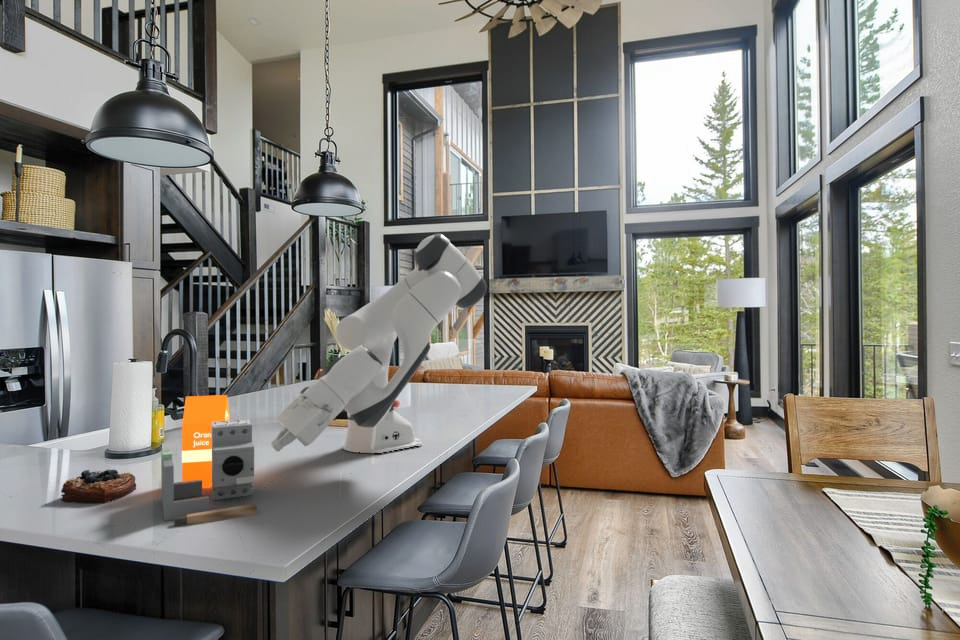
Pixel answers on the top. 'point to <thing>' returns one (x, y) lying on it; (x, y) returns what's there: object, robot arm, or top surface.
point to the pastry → (98, 487)
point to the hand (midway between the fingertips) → (273, 448)
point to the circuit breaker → (232, 459)
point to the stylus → (216, 515)
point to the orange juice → (200, 435)
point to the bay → (179, 492)
